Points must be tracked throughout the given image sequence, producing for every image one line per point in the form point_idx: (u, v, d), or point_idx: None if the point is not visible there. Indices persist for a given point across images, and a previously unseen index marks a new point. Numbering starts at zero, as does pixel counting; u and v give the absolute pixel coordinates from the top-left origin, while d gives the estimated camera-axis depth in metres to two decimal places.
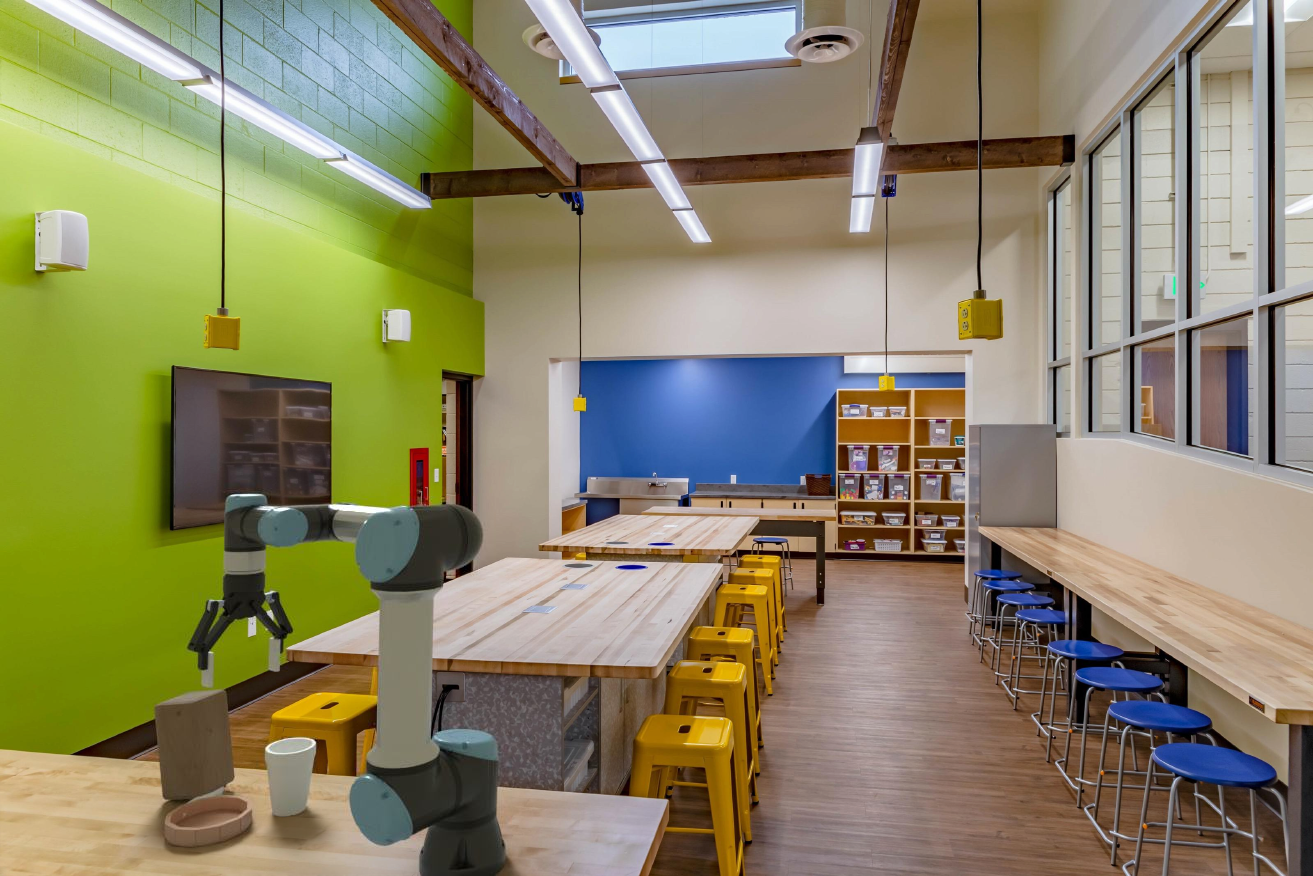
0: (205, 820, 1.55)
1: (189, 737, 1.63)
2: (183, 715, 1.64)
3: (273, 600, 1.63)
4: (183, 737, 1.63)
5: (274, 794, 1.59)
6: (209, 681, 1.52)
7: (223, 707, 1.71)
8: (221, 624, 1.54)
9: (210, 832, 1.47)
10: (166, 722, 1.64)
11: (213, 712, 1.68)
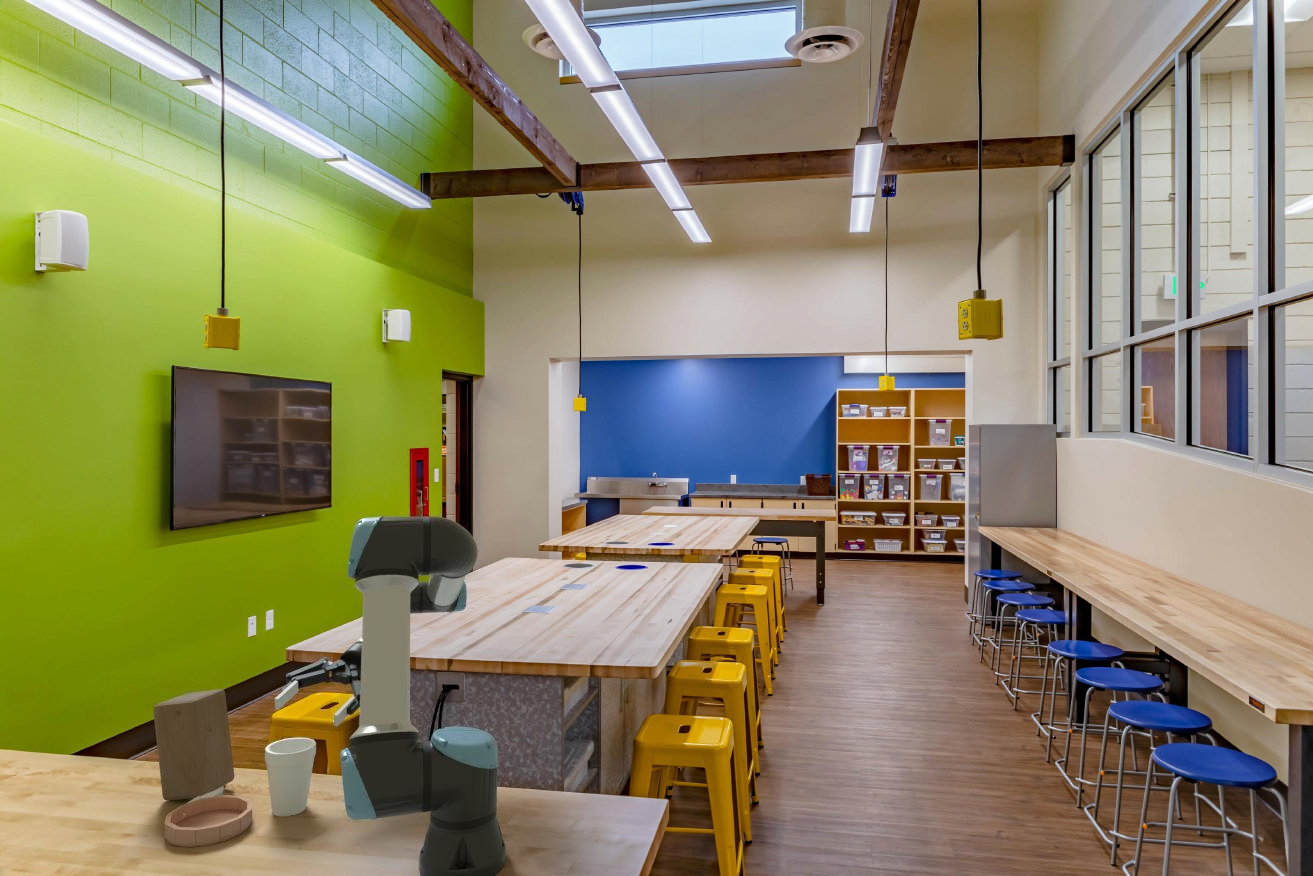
0: (205, 820, 1.55)
1: (189, 736, 1.64)
2: (183, 715, 1.64)
3: None
4: (183, 737, 1.64)
5: (274, 794, 1.59)
6: (278, 695, 1.65)
7: (222, 707, 1.72)
8: None
9: (210, 832, 1.47)
10: (165, 722, 1.65)
11: (212, 712, 1.69)
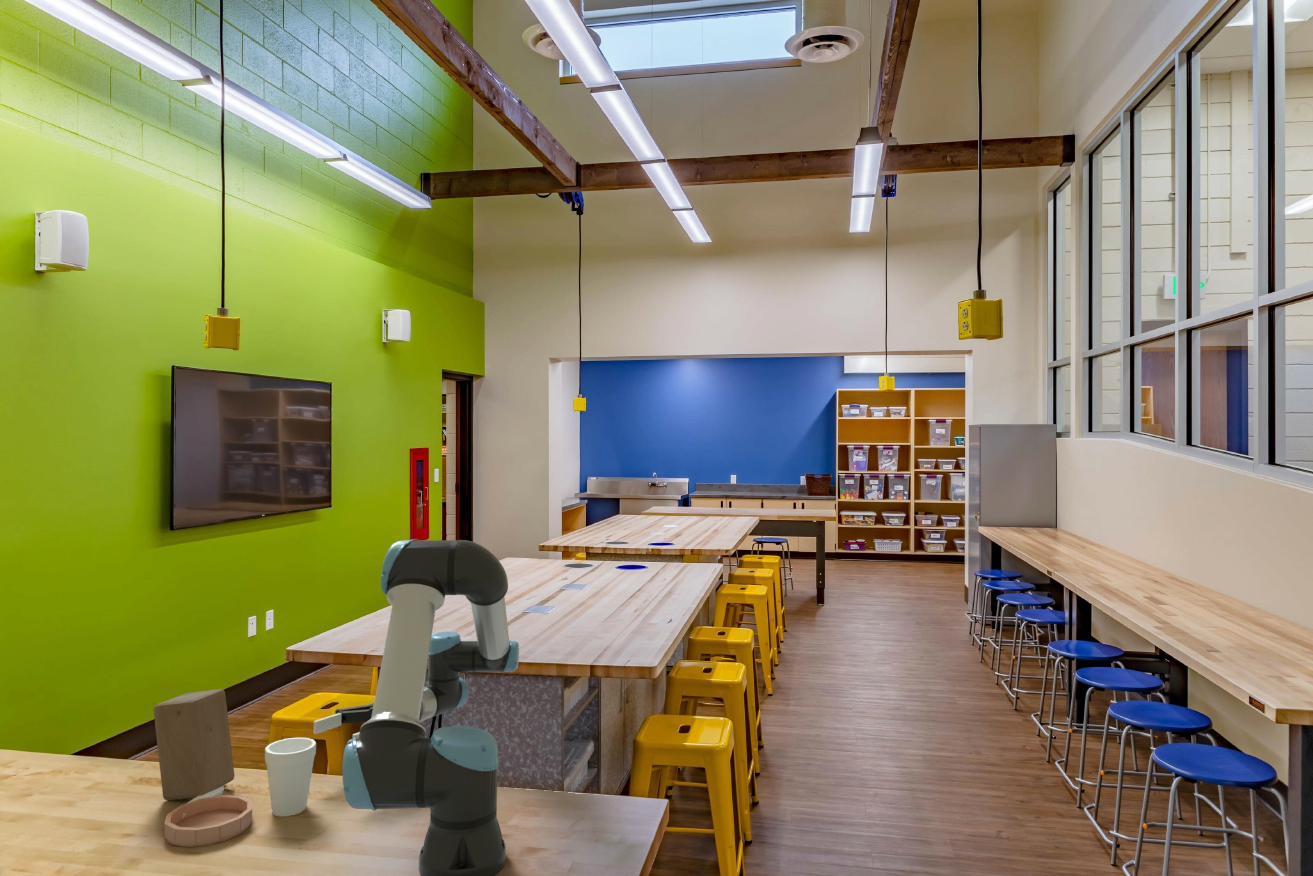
0: (205, 820, 1.55)
1: (190, 736, 1.64)
2: (183, 714, 1.64)
3: None
4: (184, 736, 1.64)
5: (274, 794, 1.59)
6: None
7: (222, 706, 1.72)
8: None
9: (210, 832, 1.47)
10: (165, 722, 1.65)
11: (213, 712, 1.69)
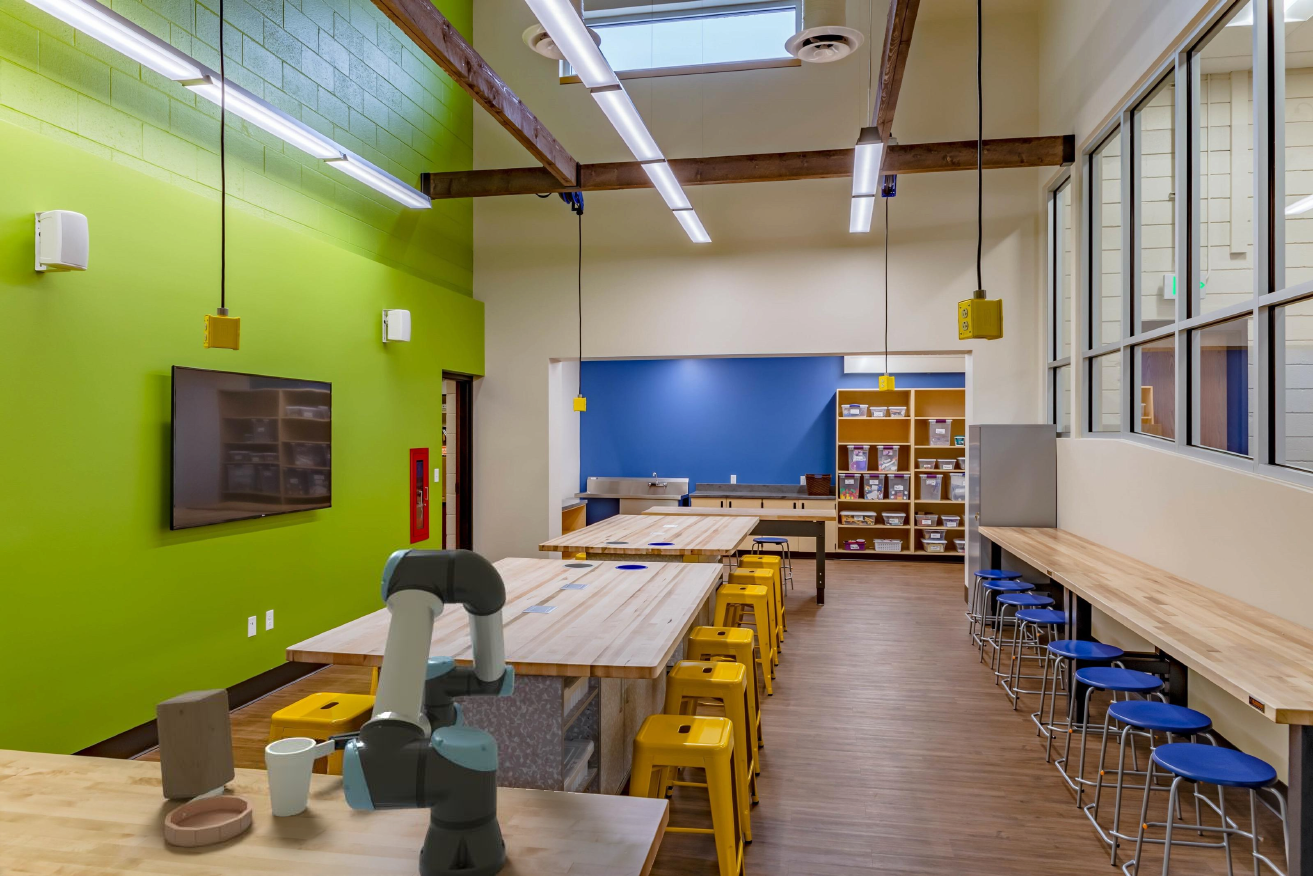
0: (205, 820, 1.55)
1: (192, 735, 1.64)
2: (186, 714, 1.65)
3: None
4: (186, 735, 1.64)
5: (274, 794, 1.59)
6: None
7: (224, 706, 1.72)
8: None
9: (210, 832, 1.47)
10: (168, 721, 1.65)
11: (215, 711, 1.69)
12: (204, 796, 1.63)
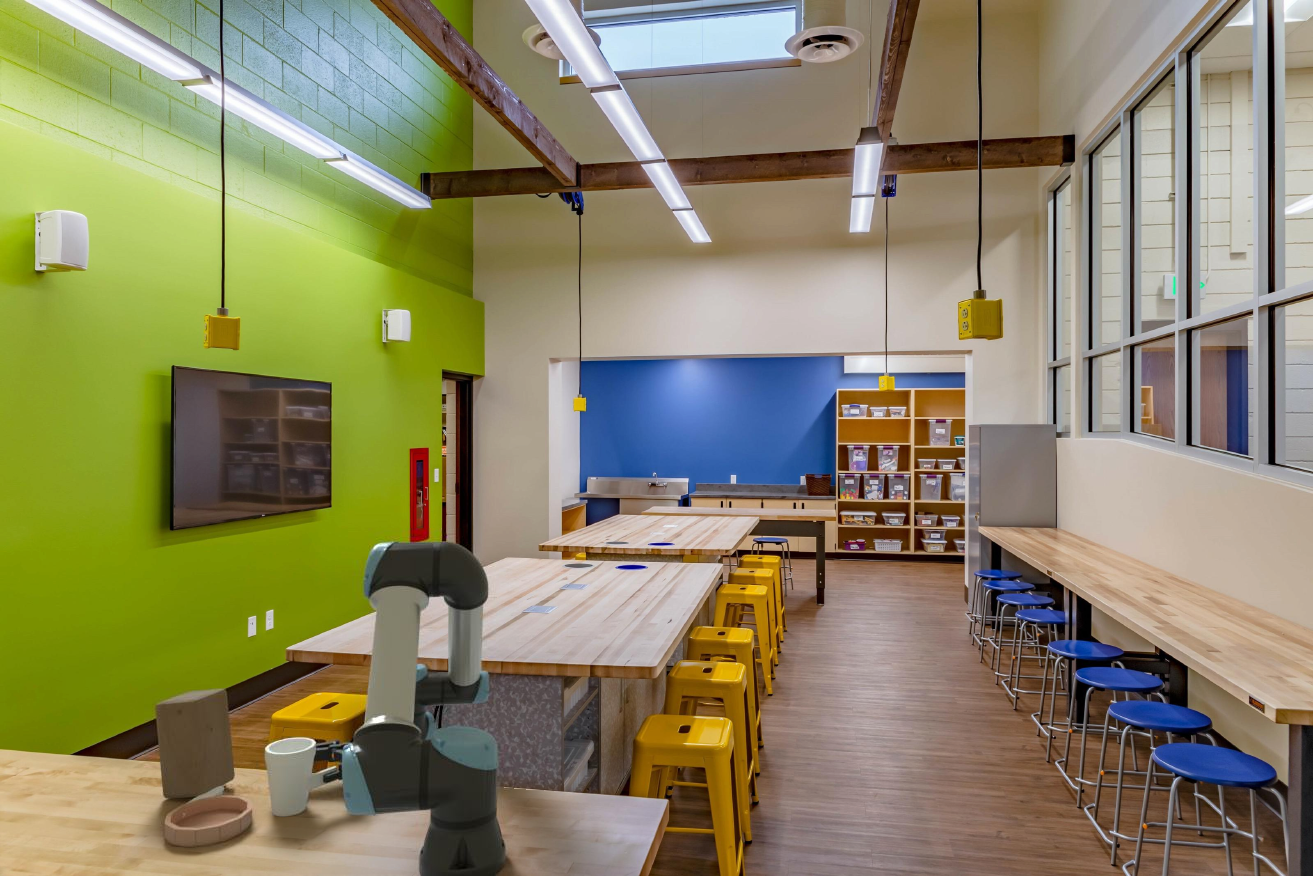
0: (205, 820, 1.55)
1: (190, 735, 1.64)
2: (184, 714, 1.65)
3: None
4: (184, 735, 1.65)
5: (274, 793, 1.59)
6: None
7: (223, 706, 1.72)
8: None
9: (210, 832, 1.47)
10: (167, 721, 1.66)
11: (214, 711, 1.70)
12: (204, 796, 1.63)
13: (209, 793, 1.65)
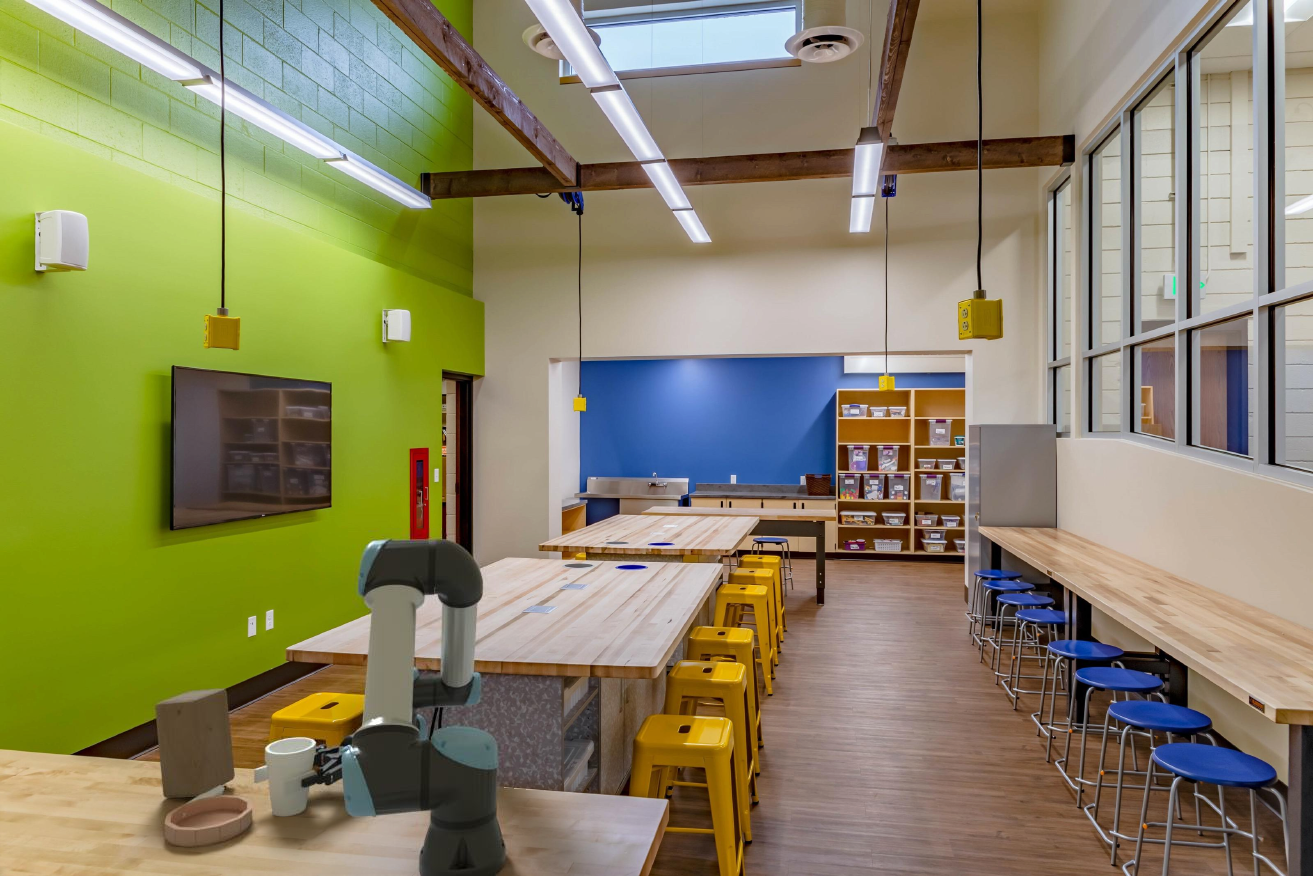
0: (205, 820, 1.55)
1: (189, 735, 1.65)
2: (183, 714, 1.65)
3: None
4: (183, 735, 1.65)
5: (274, 793, 1.59)
6: (260, 767, 1.63)
7: (223, 706, 1.72)
8: None
9: (210, 832, 1.47)
10: (166, 721, 1.66)
11: (213, 711, 1.70)
12: (204, 796, 1.63)
13: (209, 793, 1.65)
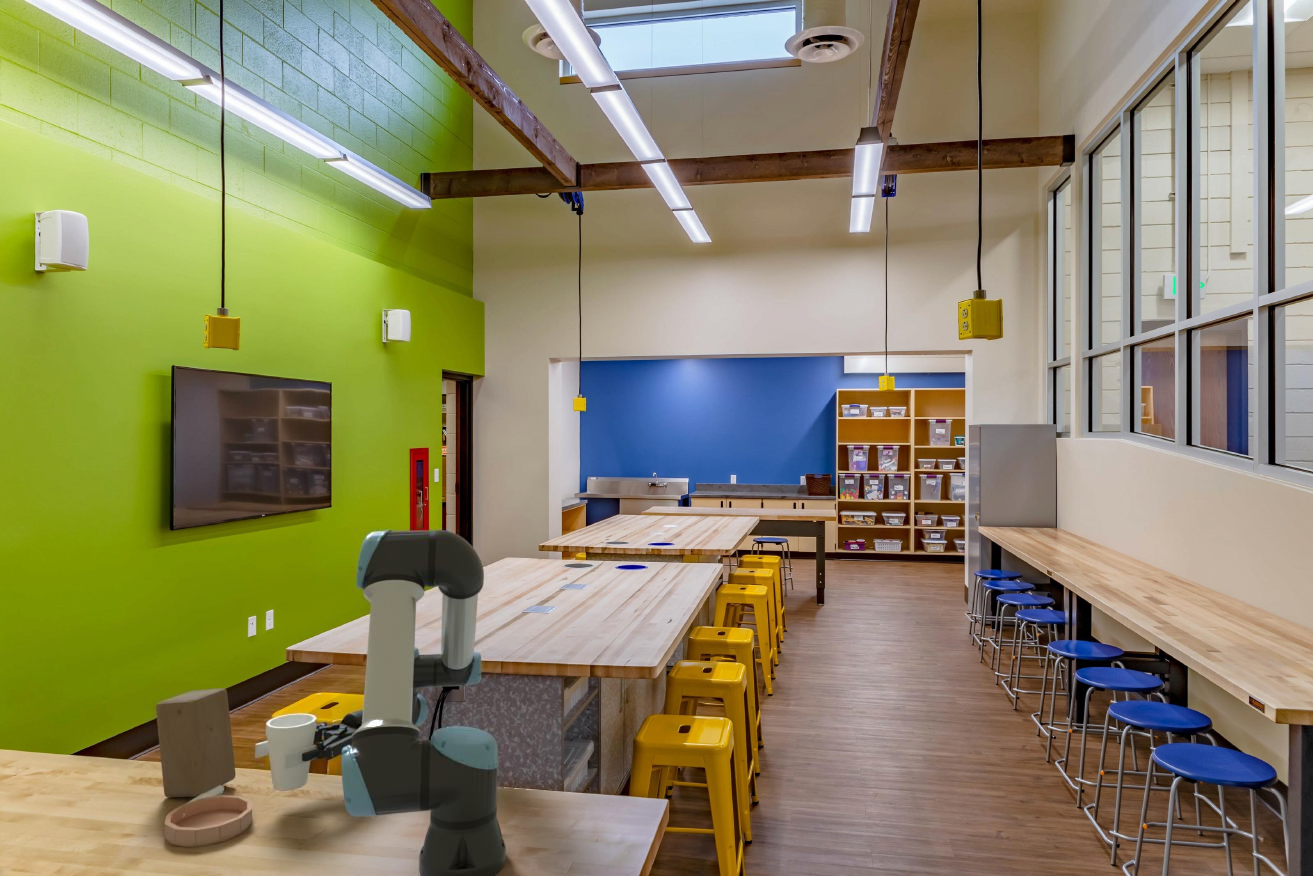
0: (205, 820, 1.55)
1: (189, 735, 1.65)
2: (184, 714, 1.65)
3: None
4: (184, 735, 1.65)
5: (275, 768, 1.59)
6: (261, 742, 1.63)
7: (224, 706, 1.73)
8: None
9: (210, 832, 1.47)
10: (167, 720, 1.66)
11: (214, 711, 1.70)
12: (204, 796, 1.63)
13: (209, 793, 1.65)
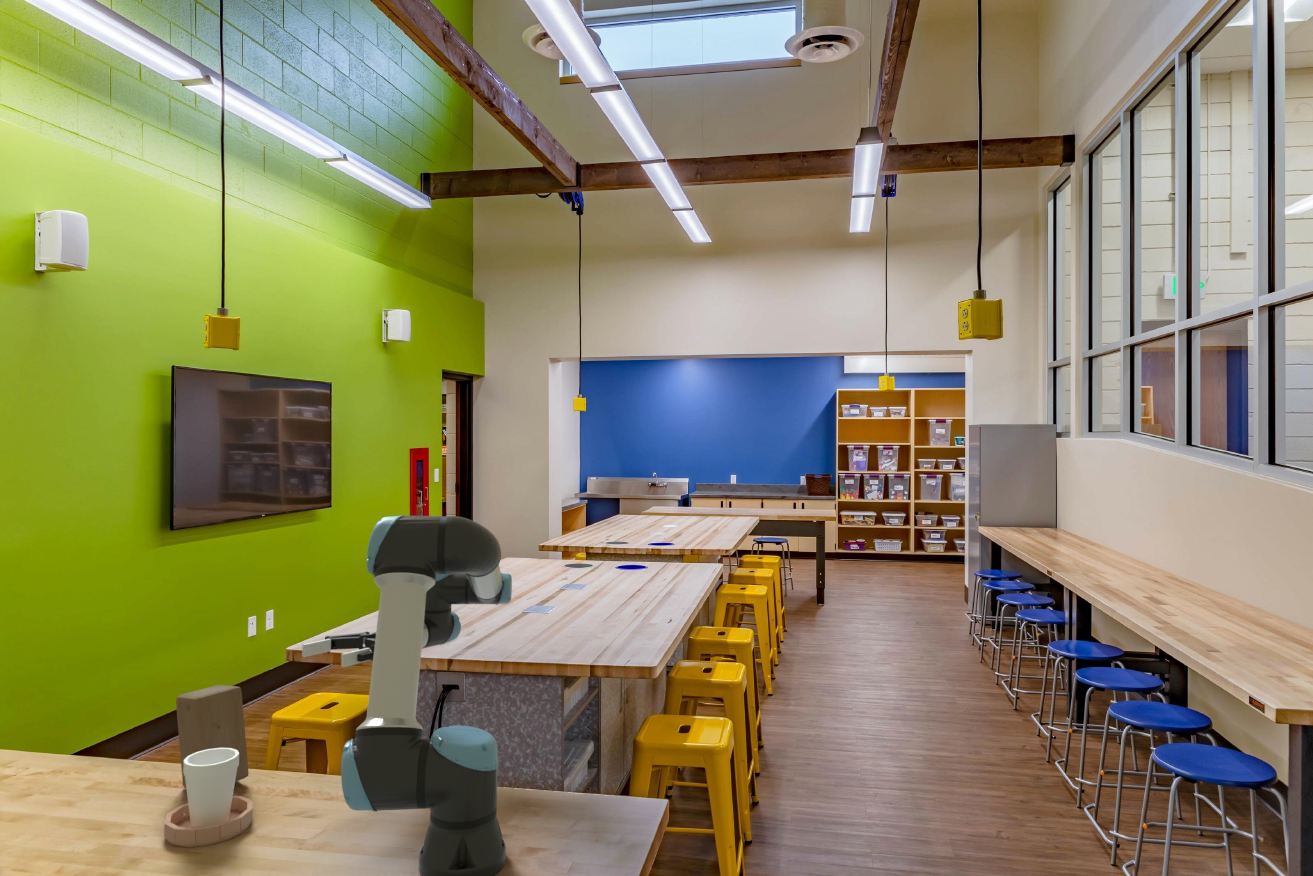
0: None
1: (195, 732, 1.67)
2: (191, 710, 1.68)
3: None
4: (191, 731, 1.68)
5: (193, 808, 1.50)
6: None
7: (236, 704, 1.73)
8: None
9: (210, 832, 1.47)
10: (181, 714, 1.71)
11: (223, 709, 1.71)
12: None
13: None
